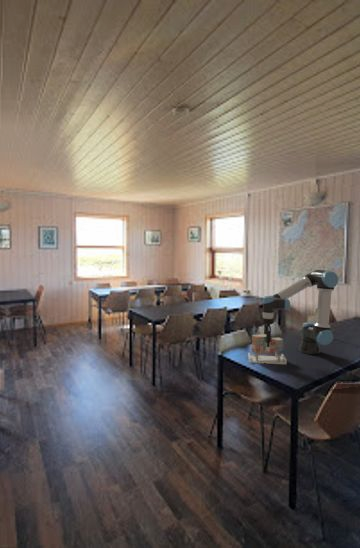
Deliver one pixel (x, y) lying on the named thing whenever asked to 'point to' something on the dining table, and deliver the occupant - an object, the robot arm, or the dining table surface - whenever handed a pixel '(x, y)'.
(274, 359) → the rack with pegs
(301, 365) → the dining table surface
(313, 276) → the robot arm
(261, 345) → the stack of blocks
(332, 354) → the dining table surface
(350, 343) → the dining table surface
